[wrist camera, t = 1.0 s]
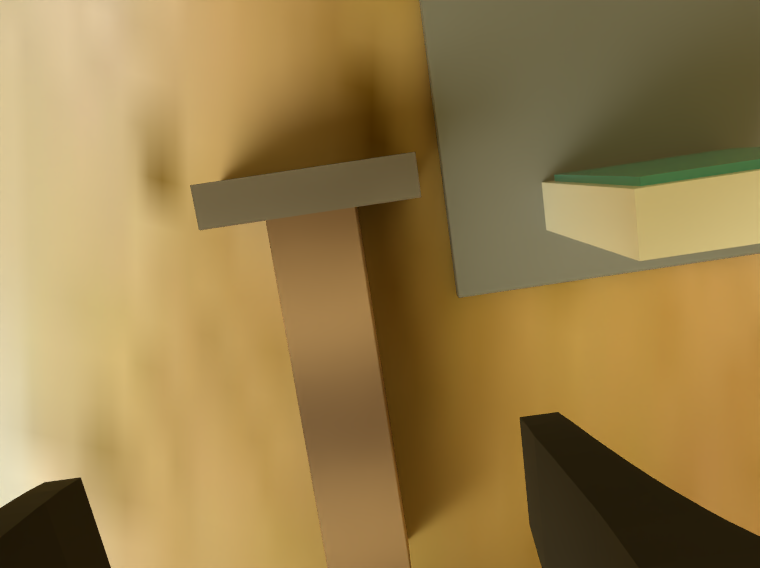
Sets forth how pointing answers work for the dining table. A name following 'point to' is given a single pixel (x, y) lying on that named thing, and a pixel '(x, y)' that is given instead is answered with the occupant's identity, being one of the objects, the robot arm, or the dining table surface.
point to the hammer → (332, 339)
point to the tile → (660, 204)
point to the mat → (576, 116)
